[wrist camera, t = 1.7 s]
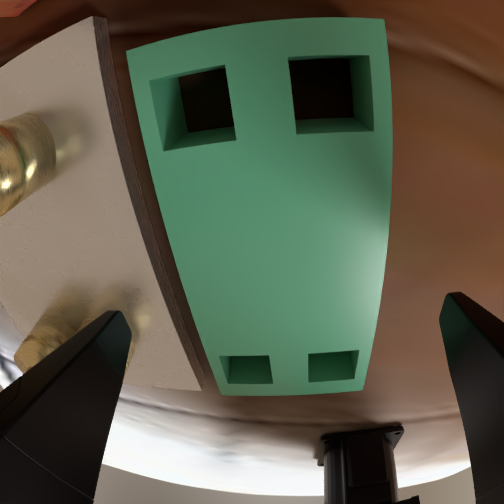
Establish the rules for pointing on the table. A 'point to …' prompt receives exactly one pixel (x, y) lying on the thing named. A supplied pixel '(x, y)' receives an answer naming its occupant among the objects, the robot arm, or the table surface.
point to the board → (275, 201)
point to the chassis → (80, 212)
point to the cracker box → (14, 7)
